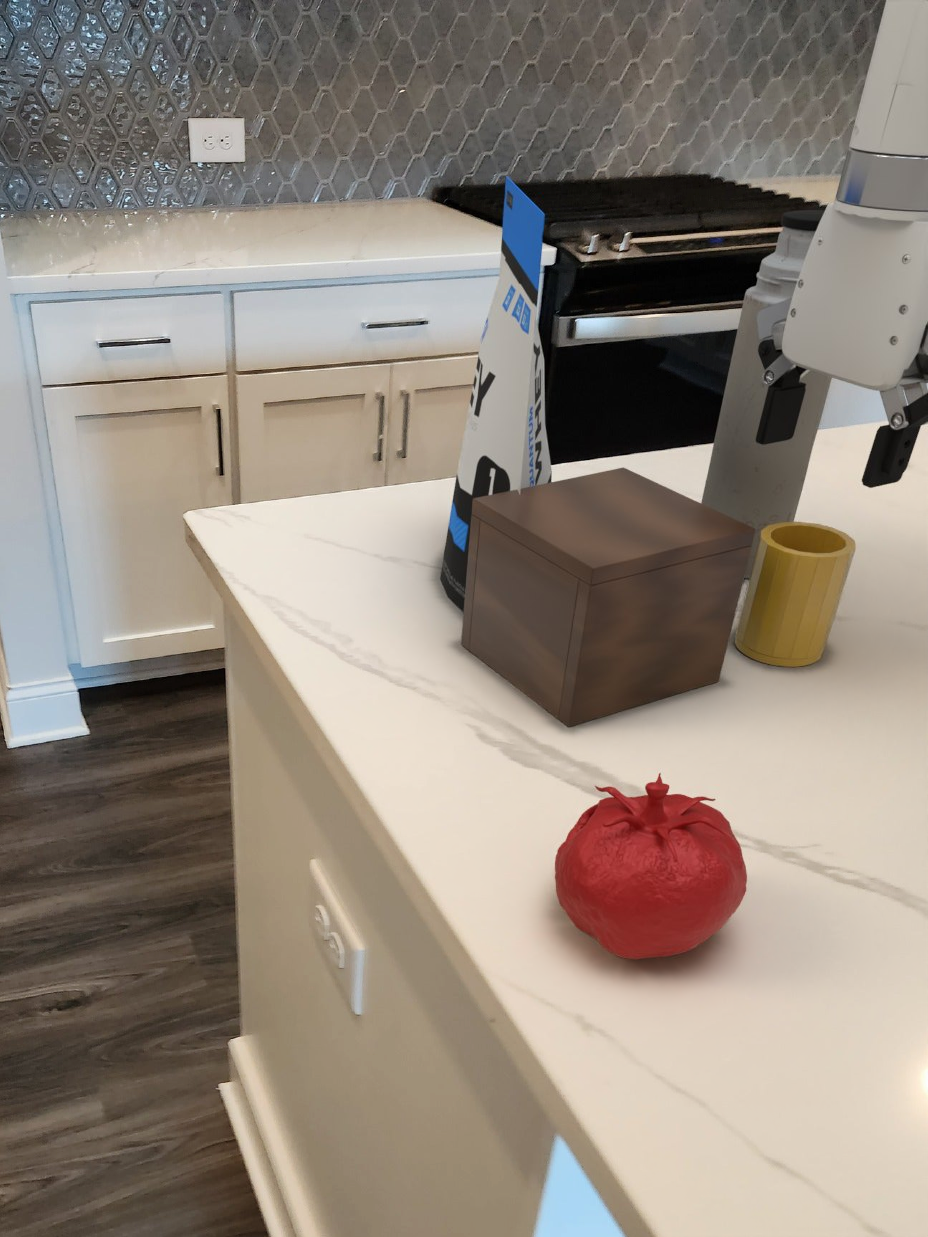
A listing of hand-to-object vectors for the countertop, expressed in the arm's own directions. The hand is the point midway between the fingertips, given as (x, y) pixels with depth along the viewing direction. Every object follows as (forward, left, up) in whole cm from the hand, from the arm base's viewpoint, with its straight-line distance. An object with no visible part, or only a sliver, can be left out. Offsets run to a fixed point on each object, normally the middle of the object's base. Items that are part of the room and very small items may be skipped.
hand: (824, 461), depth 78 cm
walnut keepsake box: (+15, -5, -15) cm, 21 cm away
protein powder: (+12, -21, -15) cm, 29 cm away
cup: (0, 0, -15) cm, 15 cm away
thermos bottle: (-9, -14, -15) cm, 22 cm away
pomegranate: (+31, +20, -15) cm, 40 cm away
